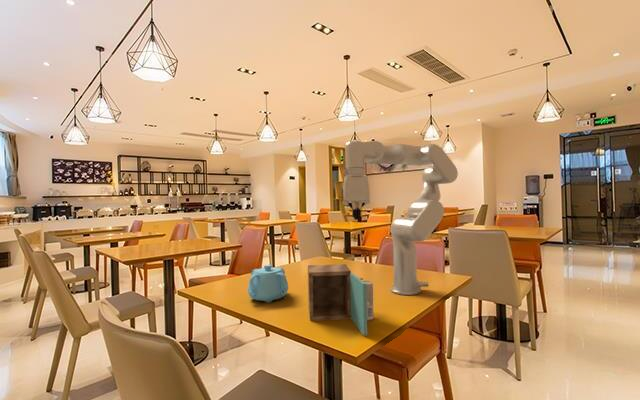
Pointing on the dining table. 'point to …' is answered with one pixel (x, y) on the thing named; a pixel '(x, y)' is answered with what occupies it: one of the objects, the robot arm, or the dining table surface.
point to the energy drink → (369, 299)
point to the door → (358, 303)
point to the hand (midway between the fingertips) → (356, 219)
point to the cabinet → (329, 292)
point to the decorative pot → (267, 284)
